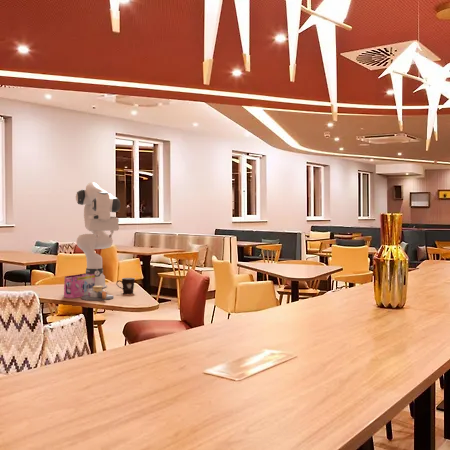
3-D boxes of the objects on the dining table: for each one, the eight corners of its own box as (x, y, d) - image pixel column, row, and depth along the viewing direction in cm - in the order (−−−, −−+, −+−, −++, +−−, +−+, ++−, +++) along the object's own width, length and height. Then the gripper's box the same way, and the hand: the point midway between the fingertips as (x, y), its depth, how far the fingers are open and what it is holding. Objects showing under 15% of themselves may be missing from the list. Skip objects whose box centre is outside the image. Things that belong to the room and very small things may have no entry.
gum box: (72, 298, 358) (72, 277, 357) (62, 297, 361) (62, 276, 361) (95, 293, 380) (95, 273, 379) (85, 293, 383) (85, 273, 383)
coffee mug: (136, 292, 388) (136, 277, 387) (132, 294, 379) (132, 279, 379) (119, 292, 389) (119, 277, 389) (115, 293, 380) (115, 279, 380)
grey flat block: (86, 295, 362) (86, 288, 362) (103, 294, 368) (103, 287, 368) (96, 299, 346) (96, 292, 345) (113, 298, 351) (113, 291, 351)
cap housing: (77, 297, 364) (77, 285, 364) (108, 294, 375) (108, 283, 374) (86, 301, 347) (86, 289, 347) (118, 299, 357) (118, 287, 357)
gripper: (116, 216, 376) (116, 237, 376) (86, 216, 366) (86, 237, 366) (120, 216, 371) (120, 237, 371) (89, 216, 360) (89, 238, 360)
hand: (103, 237), depth 368 cm, fingers open, 8 cm apart
